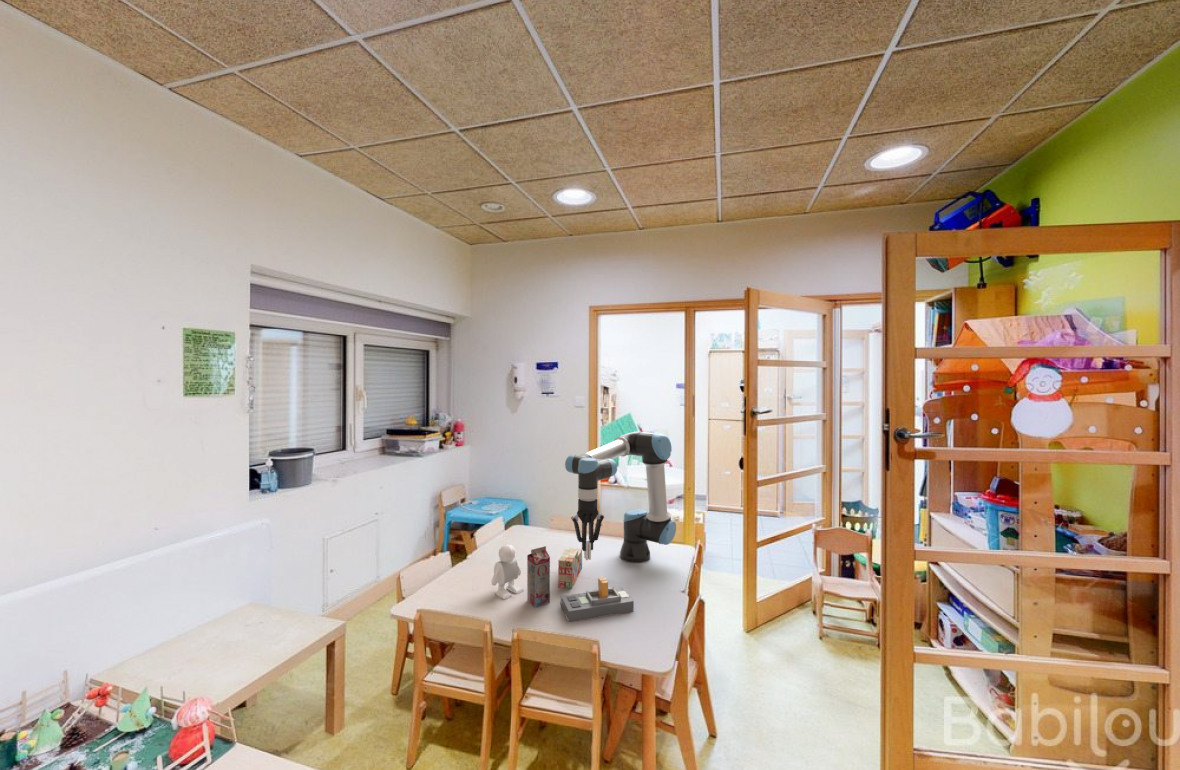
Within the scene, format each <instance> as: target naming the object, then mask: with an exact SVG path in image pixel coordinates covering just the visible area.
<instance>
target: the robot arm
mask: <svg viewBox="0 0 1180 770" xmlns="http://www.w3.org/2000/svg"><path fill="white" fill-rule="evenodd" d="M671 455H672V443H671V441H670V438H669V437H668V436H667V435H666V434H663V433H658V432H645V431H632V432H628V433H625V434H621V435H619V436H617V437H615V439H614V440H613V441H611V442H609V443H605V444H604V445H601V446H598V447H597V448H594V449H591V450H590V451H587V452H585V453H583V454H580V455H577V454H570V455H568V456H567V458H566V459H565V463H564V466H565V471H567V472H568V473H571V474H574V475H578V481H577V483H578V484H577V485H578V488H577V490H578V491H577V493H578V494H577V496H578V499H577V502H578V503H577V509H578V510H577V512H576V514H575V515H574V516H571V517H570V519H571V521H572V522H573V525H574V530H575V531H574V532H575V534H576V535H575V536H576V539H577V541H578V542H579V543H581V549H582V552H583V555H584V557H583V558H584V559H585V561H590V560H591V559H592V555H591V554H592V551H594V542H596V541H598V539H599V536H600V532H601V526H602V524H603V523H602V522H603V520H604V518H605V515H604V514H602V513H599V510H598V496H599V495H598V494H599V493H598V491H599V490H598V484H599V483H598V482H599V481H602V480H606V479H610V478H611V477H614V476H615V475H616V474H617V471H618V464H617V463H616V461H615V460H614V459H617V458H618V457H622V458H623V457H626V456H636V457H641V458H642V459H641V460H642V463H643V464H644V465H645V472H646V483H647V484H646V486H647V497H648V511H649V512H648V511H647V510H645V509H642V508H641V509H640V508H639V509H631V510H628V511H626V512H625V513H624V514H623V541H622V542H623V543H622V545H621V548H620V551H619V557H620V558H621V560H623V561H625V562H629V563H637V564H639V563H645V562H647V561H649V560H650V559H651V550H650V548H649V547H650V546H649V545H648V542H653V543H656V544H659V545H665V546H667V545H670V544H671V543H672V542H673V540H674V538H675V536H676V532H677V523H676V521H674V520H672V518H671V517H672V516H671V513H670V512H668V502H667V501H668V500H667V489H666V474H665V473H666V471H665V464H666V463H668V460H669V458H670V457H671ZM579 519H580V521H581V529H580V525H579ZM595 520H596V523H595ZM594 524H595V527H594ZM587 526H588V527H587ZM587 528H588V529H587ZM587 531H588V533H587ZM587 534H588V535H587ZM587 536H588V540H587Z"/></svg>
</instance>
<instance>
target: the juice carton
mask: <svg viewBox="0 0 1180 770" xmlns="http://www.w3.org/2000/svg"><path fill="white" fill-rule="evenodd" d="M526 561H527V562H526V564H527V565H526V566H527V567H526V569H527V570H526V571H527V575H526V576H527V578H526V583H527V585H526V592H527V593H526V594H527V595H526V597H527V598H526V601H527V602H528V603H530V605H531V606H533V607H534V608H537V607H540V606H543V605H547V604H549V603H550V602H551V599H550V597H551V592H550V591H551V584H550V583H551V582H550V581H551V569H550V568H551V556H550V554H549V553H548V551H547V546H544V545H543V546H541V547H537V548H534V549H531V550H530V553H528V554H527V557H526Z"/></svg>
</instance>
